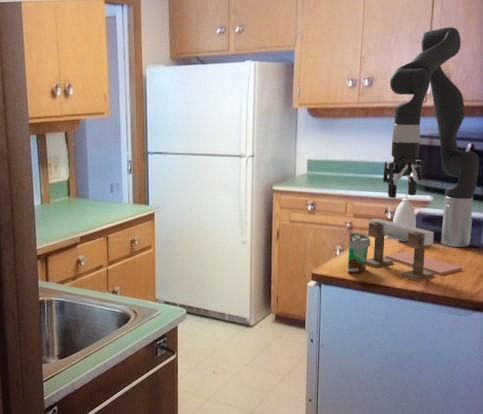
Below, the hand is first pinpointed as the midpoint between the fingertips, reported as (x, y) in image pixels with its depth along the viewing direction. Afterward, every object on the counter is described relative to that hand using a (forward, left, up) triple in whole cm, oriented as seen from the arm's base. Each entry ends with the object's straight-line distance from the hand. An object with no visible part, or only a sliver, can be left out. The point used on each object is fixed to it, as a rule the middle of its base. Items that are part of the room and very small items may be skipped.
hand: (402, 196), depth 159 cm
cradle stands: (0, 0, -22) cm, 22 cm away
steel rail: (0, 0, -12) cm, 12 cm away
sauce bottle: (-30, -23, -22) cm, 44 cm away
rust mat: (-12, 0, -22) cm, 25 cm away
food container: (+10, -6, -22) cm, 25 cm away
